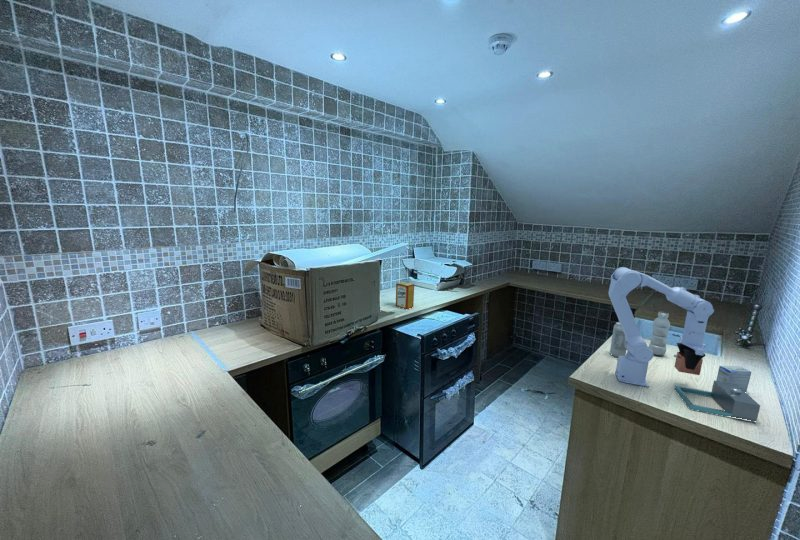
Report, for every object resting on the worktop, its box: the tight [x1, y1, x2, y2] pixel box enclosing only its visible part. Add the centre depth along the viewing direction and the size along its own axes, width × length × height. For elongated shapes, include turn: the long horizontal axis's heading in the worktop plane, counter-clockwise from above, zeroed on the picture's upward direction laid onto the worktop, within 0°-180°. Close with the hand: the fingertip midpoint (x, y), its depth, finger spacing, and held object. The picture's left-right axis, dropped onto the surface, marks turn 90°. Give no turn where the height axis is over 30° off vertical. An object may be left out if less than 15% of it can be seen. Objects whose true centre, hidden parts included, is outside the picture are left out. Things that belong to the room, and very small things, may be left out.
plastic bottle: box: [648, 311, 672, 357], centre depth 151 cm, size 6×7×20 cm
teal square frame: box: [674, 380, 761, 422], centre depth 112 cm, size 16×14×7 cm
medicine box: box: [715, 365, 752, 393], centre depth 122 cm, size 8×4×9 cm, turn 92°
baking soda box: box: [395, 281, 415, 310], centre depth 212 cm, size 10×6×16 cm
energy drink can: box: [609, 321, 627, 358], centre depth 148 cm, size 6×6×15 cm
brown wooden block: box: [673, 351, 703, 376], centre depth 122 cm, size 7×4×6 cm, turn 68°
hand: (687, 366), depth 122 cm, fingers closed on brown wooden block, 4 cm apart
